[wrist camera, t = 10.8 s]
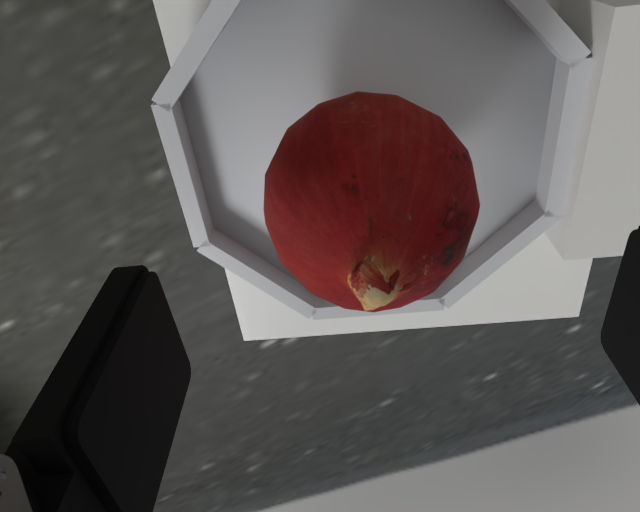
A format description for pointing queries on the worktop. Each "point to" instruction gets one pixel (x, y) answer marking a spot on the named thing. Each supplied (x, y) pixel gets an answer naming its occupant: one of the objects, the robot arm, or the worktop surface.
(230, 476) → the worktop surface
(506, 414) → the worktop surface
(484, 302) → the kitchen scale
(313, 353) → the worktop surface
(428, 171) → the red pomegranate
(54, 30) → the worktop surface
